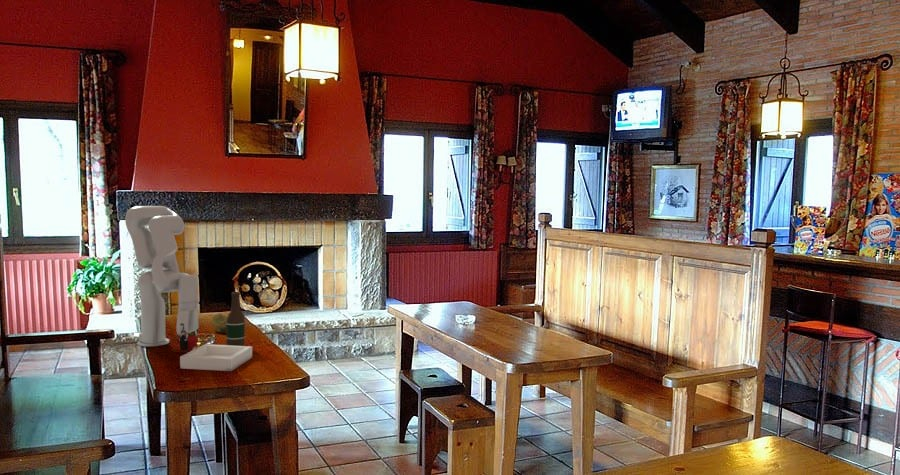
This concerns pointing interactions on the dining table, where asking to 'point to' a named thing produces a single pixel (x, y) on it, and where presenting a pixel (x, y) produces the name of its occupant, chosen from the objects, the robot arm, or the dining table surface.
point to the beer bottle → (235, 323)
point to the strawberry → (191, 341)
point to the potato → (220, 323)
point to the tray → (216, 357)
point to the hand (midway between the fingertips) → (188, 347)
